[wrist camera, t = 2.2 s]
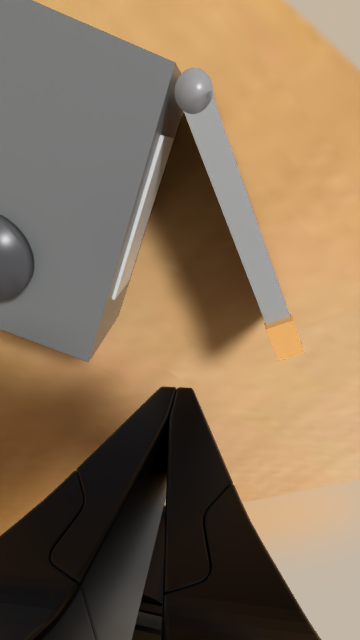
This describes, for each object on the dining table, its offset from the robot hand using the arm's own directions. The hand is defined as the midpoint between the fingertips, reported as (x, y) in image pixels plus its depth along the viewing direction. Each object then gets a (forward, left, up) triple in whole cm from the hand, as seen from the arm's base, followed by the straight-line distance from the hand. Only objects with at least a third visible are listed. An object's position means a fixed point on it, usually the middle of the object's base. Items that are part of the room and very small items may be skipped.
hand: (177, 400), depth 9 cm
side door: (-1, -4, -10) cm, 11 cm away
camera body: (+8, -2, -11) cm, 13 cm away
